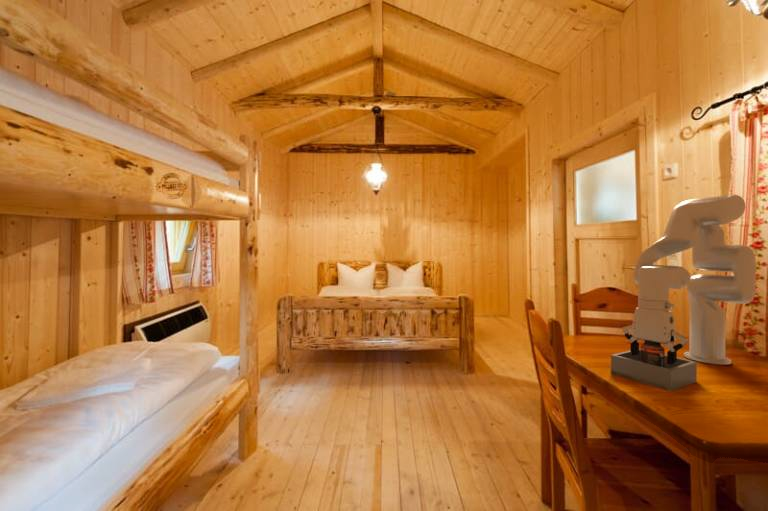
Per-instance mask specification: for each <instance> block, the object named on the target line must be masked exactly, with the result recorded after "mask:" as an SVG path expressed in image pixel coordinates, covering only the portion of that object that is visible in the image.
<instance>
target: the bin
mask: <svg viewBox="0 0 768 511" xmlns="http://www.w3.org/2000/svg"><path fill="white" fill-rule="evenodd" d="M697 362H698V361H694V360H690V359H685V358H680V357H677V361H676V362H675V363H674V364H671V365H670V364H668V363H667V354H665V362H664V364H665V365H664V366H665V368H663V367H659V366H656V365H652V364H648V363H644V362H641V348H639V354H638V355H632V352H631V350H626V351H622V352H617V353H614V354H610V374H612V375H615V376H619V377H622V378H626V379H629V380H632V381H636V382H639V383H642V384H645V385H649V386H651V387H655V388H657V389H661V390H664V391H669V392H673V391H676V390H678V389H681V388H683V387H686V386H688V385H692V384H694V383H697V378H698V377H697V375H698V374H697V373H698V372H697V371H698V370H697V369H698V368H697V364H698V363H697Z"/></svg>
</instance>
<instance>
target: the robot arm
mask: <svg viewBox="0 0 768 511" xmlns="http://www.w3.org/2000/svg"><path fill="white" fill-rule="evenodd" d="M745 211H746V202H745V199H744V198H743V197H742V196H740V195H738V194H727V195H719V196H708V197H699V198H698V197H697V198H692V199H687V200H684V201H682V202H680V203H679V204H677V205H676V206H675V207H674V208H673V209H672V211H671V214H670V216H669V219H668V221H667V224H666V226H665V230H664V233H663V236H662V237H661V238H660V239H658V240H657V241H655V242H654V243H652V244H651V245H649V246H648V247H647V248H645V249H644V250H643V251H642V252H641V253H640V255H639V257H638V258H637V262H636V264H635V267H634V269H633V270H634V271H633V281H634V282H635V284H637V286H638V287H637V290H638V292H637V293H638V295H637V307H636V308H635V310H634V314H633V318H632V324H630V325H627V326H623V327H621V329H622V332H623V334H624V337H625V338H626V339H627V340H628V342H629V343H630V350H631V352H632V355H638V354H639V349H640V343H639V342H638V341H639V340H644V341H645V340H649V341H652V342H657V343H661V345H662V344H663V345H665V347H666V348H668V351H667V353H666V355H667V363H668V364H670V365H671V364H674V363H675V362H676V361H677V358H678V355H677V353H678V351H679V350H681V349H683V348H684V347H685V345H686V344H688V342H689V351H684V352H683V356H684V357H685V358H687V359H688V360H690V361H694V362H699V363H704V364H711V365H721V366H726V365H731V364H732V359H730V358H728V357H726V318H727V317H726V312H725V310H724V309H723V308H722V306H720V304H719V303H718V302H720V303H721V302H722V303H730V304H749V303H752V302H753V300H754V299H755V296H756V280H757V279H756V278H757V276H756V269H757V268H756V264H757V263H756V262H757V261H756V255H755V252H754V250H753V249H752V248H751V247H750V246H748V245H744V244H725V243H726V242H725V230H724V229H723V228H722V226H721V225H725V224H726V225H728V224H730V223H731V222H734V221H737V220H739V219H740V218H741V217H742V216H743V215H744V213H745ZM691 248H692V249H691ZM690 249H691V250H692V251H691V252H692V253H691V254H692V256H691V257H692V258H691V259H692V265H693V267H694V268H695V269H697V270H700V271H705V272H727V273H728V272H729V273H733V275H722V274H695V275H692V276H691V274H690V272H689V271H688V270H687V269H686V268H685V267H683V266H679V265H662V264H660V265H659V264H655V263H657V261H659V260H661V259H664V258H665V257H668V256H672V255H675V254H677V253H682V252H685V251H686V250H690ZM684 288H686V291H687V296H688V301H689V338H687V337H685V336H684V335H683V334H680V333H679V332H677V331H676V322H675V318H674V314H673V311H672V310H670V309H674V308H675V304H674V303H671V302H670V297H669V295H670V294H669V293H670V292H669V291H670V290H681V289H684ZM630 330H632V332H631V333H632V334H631V333H630ZM676 340H678V341H679V342H678V343H677V344H676V343H675V342H676ZM630 350H629V351H630Z"/></svg>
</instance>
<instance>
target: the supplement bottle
mask: <svg viewBox="0 0 768 511" xmlns="http://www.w3.org/2000/svg"><path fill="white" fill-rule="evenodd" d="M640 349H641V362H644V363H648V364H652V365H656V366H659V367H663V368H665V366H664V365H665V364H664V362H665V355H666V354H665V347H664V346H663V345H662V343H657V342H652V341H649V340H644V342H643V343H642V344H640Z"/></svg>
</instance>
